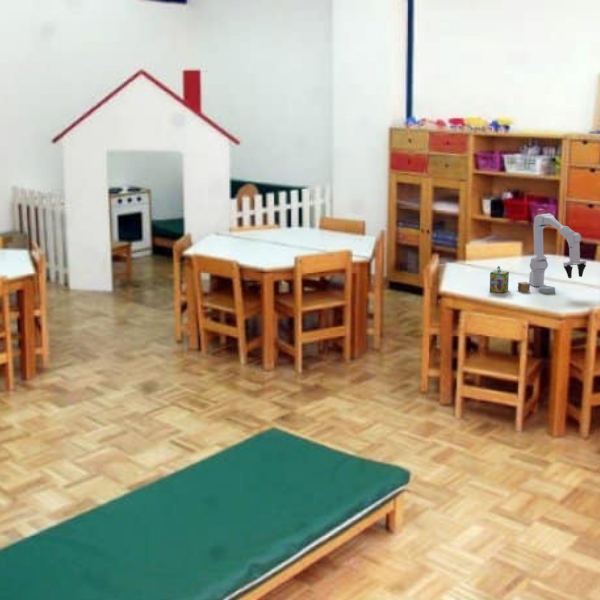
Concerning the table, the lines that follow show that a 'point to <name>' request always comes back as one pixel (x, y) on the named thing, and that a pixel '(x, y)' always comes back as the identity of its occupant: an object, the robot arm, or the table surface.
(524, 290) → the cube
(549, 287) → the platform
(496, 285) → the chalk box
